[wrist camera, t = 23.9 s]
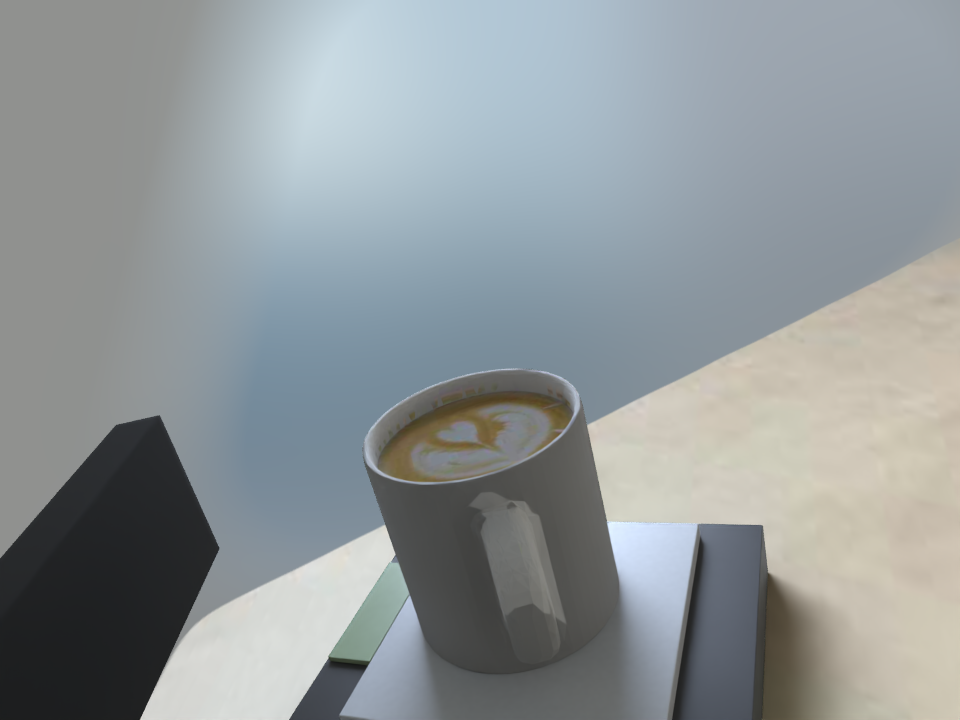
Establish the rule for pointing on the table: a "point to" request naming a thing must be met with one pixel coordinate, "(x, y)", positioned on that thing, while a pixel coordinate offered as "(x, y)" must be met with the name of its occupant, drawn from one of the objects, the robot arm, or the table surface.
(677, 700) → the scale
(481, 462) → the coffee mug
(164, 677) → the table surface
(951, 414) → the table surface
